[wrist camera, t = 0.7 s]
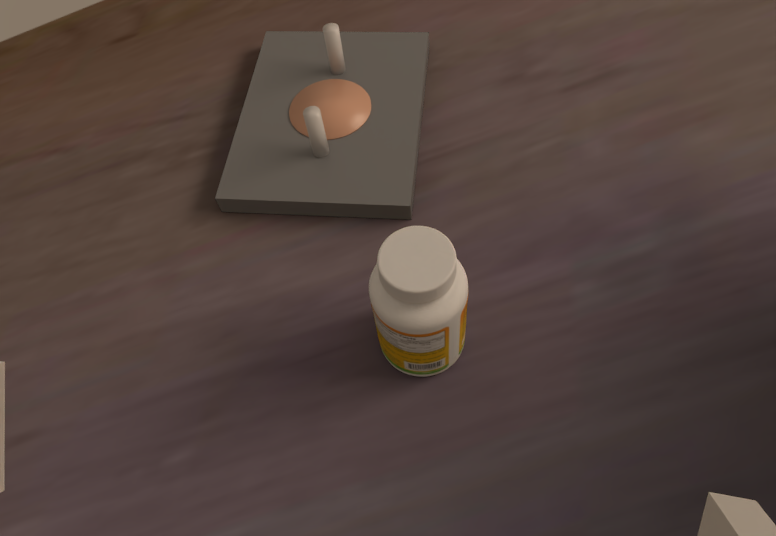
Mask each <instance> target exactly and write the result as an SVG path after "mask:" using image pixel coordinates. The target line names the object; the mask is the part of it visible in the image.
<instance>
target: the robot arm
mask: <svg viewBox="0 0 776 536" xmlns="http://www.w3.org/2000/svg"><path fill="white" fill-rule="evenodd" d="M4 444H5V362H2V361H0V493H1V492H2V491H4ZM698 536H776V525H775V524H774V523H773V521H772V520H771V519H770V518H769V516H768V515H767V514H766V513H765V511H764V510H763V509H762V508H761V506H760V505H759V504H758V503H757V501H756V500H750V499H745V498H739V497H734V496H728V495H723V494H718V493H712V492H708V496H707V500H706V504H705V508H704V512H703V516H702V520H701V524H700V528H699V532H698Z"/></svg>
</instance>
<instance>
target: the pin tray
mask: <svg viewBox="0 0 776 536" xmlns="http://www.w3.org/2000/svg"><path fill="white" fill-rule="evenodd" d="M428 55H429V32H339V27H338V25H337V24H335V23H329V24H326V25H325V26H324V27H323V32H274V31H266V34H265V37H264V40H263V44H262V47H261V50H260V53H259V57H258V60H257V63H256V67H255V70H254V73H253V76H252V80H251V83H250V86H249V89H248V93H247V96H246V99H245V102H244V106H243V109H242V112H241V115H240V119H239V122H238V125H237V128H236V132H235V135H234V138H233V141H232V145H231V148H230V151H229V154H228V158H227V161H226V164H225V167H224V171H223V174H222V177H221V180H220V184H219V187H218V190H217V193H216V197H215V200H216V201H217V203H218V205H219V207H220V209H221V211H222V212H240V213H264V214H288V215H312V216H336V217H360V218H385V219H409V220H411V218H412V209H413V199H414V189H415V180H416V170H417V161H418V151H419V141H420V132H421V122H422V113H423V103H424V94H425V84H426V74H427V65H428Z"/></svg>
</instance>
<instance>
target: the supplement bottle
mask: <svg viewBox="0 0 776 536" xmlns="http://www.w3.org/2000/svg"><path fill="white" fill-rule="evenodd" d="M369 296H370V301H371V306H372V310H373V314H374V319H375V324H376V329H377V333H378V338H379V343H380V346H381V349H382V352H383V354H384V356H385V357H386V359H387V360H388V361H389V362H390V364H391V365H393V366H394V367H395V368H396V369H398V370H399V371H401V372H403V373H406V374H408V375H412V376H419V377H426V376H432V375H436V374H439V373H441V372H443V371H445V370H446V369H448V368H449V367H450V366H452V365H453V364H454V363H455V362H456V360H457V359H458V358H459V356H460V354H461V352H462V349H463V346H464V341H465V330H466V314H467V302H468V280H467V276H466V273H465V270H464V268H463V266H462V265H461V263H460V262H459V261H458V259H457V258H456V252H455V249H454V247H453V245H452V243H451V241H450V240H449V239H448V238H447V237H446V236H445V235H444V234H443V233H441V232H440V231H438V230H436V229H433V228H430V227H426V226H410V227H405V228H402V229H400V230H398V231H396V232H394V233H393V234H391V235H390V236H389V237H388V238H387V239H386V240H385V241H384V242H383V244H382V245H381V247H380V249H379V252H378V257H377V264H376V266H375V267H374V269H373V271H372V273H371V277H370V281H369Z"/></svg>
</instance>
